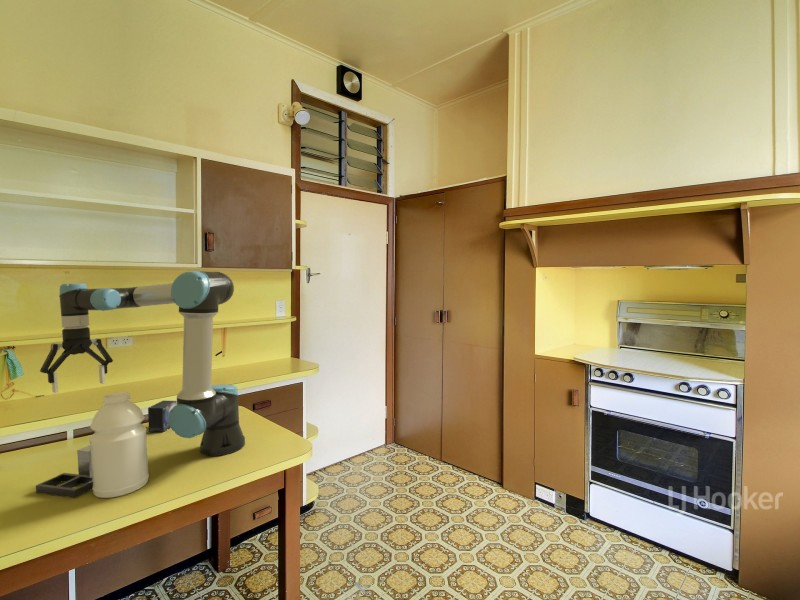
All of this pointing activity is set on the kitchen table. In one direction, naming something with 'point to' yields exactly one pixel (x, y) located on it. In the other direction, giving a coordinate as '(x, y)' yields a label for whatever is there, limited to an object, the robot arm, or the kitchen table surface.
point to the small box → (160, 416)
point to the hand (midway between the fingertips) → (79, 387)
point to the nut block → (84, 461)
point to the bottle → (118, 447)
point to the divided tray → (66, 485)
